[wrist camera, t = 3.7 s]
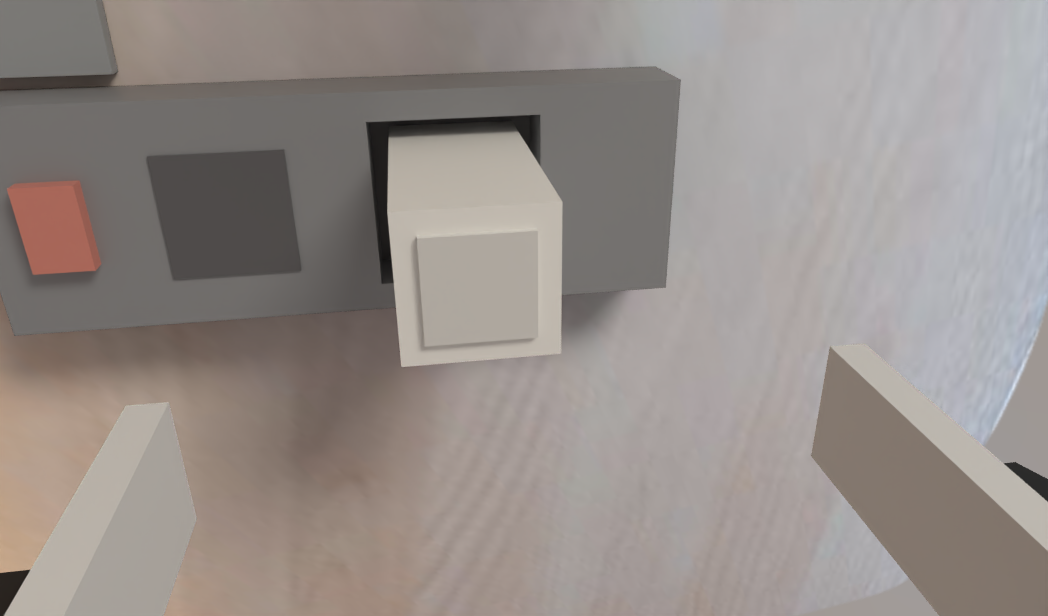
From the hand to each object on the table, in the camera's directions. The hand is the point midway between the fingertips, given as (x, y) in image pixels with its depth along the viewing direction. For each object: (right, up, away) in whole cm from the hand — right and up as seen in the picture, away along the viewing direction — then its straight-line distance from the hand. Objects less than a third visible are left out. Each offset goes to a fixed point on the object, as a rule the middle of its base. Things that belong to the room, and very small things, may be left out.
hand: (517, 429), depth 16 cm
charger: (-3, +7, +15) cm, 17 cm away
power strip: (-10, +7, +14) cm, 19 cm away
